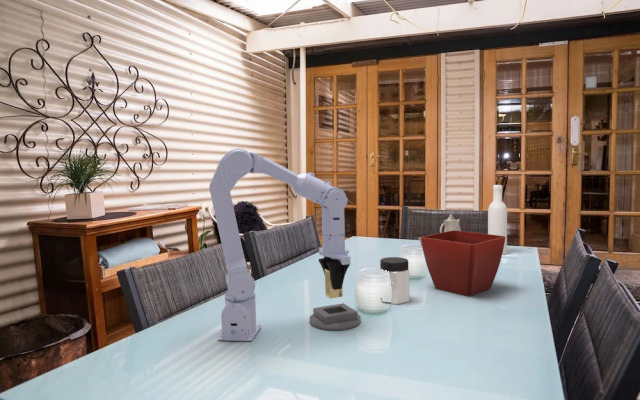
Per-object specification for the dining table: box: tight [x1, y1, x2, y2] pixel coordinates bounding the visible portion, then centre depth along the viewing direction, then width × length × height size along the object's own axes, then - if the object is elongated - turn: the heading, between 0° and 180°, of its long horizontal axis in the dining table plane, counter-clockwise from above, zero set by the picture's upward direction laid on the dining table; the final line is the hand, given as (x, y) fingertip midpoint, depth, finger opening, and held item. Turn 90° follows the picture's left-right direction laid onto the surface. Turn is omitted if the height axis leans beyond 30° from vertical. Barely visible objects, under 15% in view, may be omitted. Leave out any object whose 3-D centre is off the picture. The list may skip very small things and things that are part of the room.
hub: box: [309, 302, 361, 332], centre depth 113 cm, size 13×13×3 cm
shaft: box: [324, 268, 344, 300], centre depth 112 cm, size 4×3×7 cm
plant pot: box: [420, 230, 505, 297], centre depth 140 cm, size 19×19×17 cm
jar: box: [379, 256, 410, 305], centre depth 130 cm, size 9×8×12 cm
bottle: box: [487, 184, 508, 256], centre depth 193 cm, size 8×8×30 cm
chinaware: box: [417, 214, 462, 247], centre depth 210 cm, size 28×17×17 cm, turn 130°
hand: (334, 287), depth 113 cm, fingers closed on shaft, 3 cm apart
